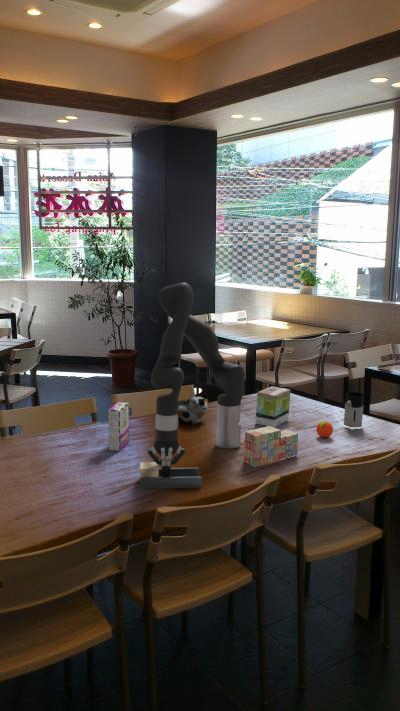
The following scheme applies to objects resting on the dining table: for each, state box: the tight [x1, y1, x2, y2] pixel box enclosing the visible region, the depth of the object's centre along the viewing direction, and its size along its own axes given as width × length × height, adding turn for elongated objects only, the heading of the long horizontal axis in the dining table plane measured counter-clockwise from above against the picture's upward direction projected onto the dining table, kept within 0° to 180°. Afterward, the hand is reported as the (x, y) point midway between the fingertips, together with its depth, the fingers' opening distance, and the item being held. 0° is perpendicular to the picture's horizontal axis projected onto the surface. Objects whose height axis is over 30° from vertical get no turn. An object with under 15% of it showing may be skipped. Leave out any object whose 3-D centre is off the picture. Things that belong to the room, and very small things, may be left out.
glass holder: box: [343, 391, 365, 427], centre depth 266 cm, size 9×14×15 cm, turn 148°
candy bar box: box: [107, 401, 130, 452], centre depth 236 cm, size 11×5×16 cm, turn 168°
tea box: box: [254, 386, 291, 428], centre depth 273 cm, size 15×10×15 cm, turn 148°
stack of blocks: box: [243, 426, 299, 468], centre depth 227 cm, size 21×6×12 cm, turn 125°
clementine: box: [316, 420, 334, 438], centre depth 254 cm, size 8×7×7 cm
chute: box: [139, 467, 202, 490], centre depth 204 cm, size 20×9×4 cm, turn 96°
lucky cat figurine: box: [178, 396, 209, 426], centre depth 271 cm, size 15×12×14 cm
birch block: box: [139, 461, 160, 484], centre depth 203 cm, size 6×6×5 cm
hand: (165, 475), depth 203 cm, fingers closed
